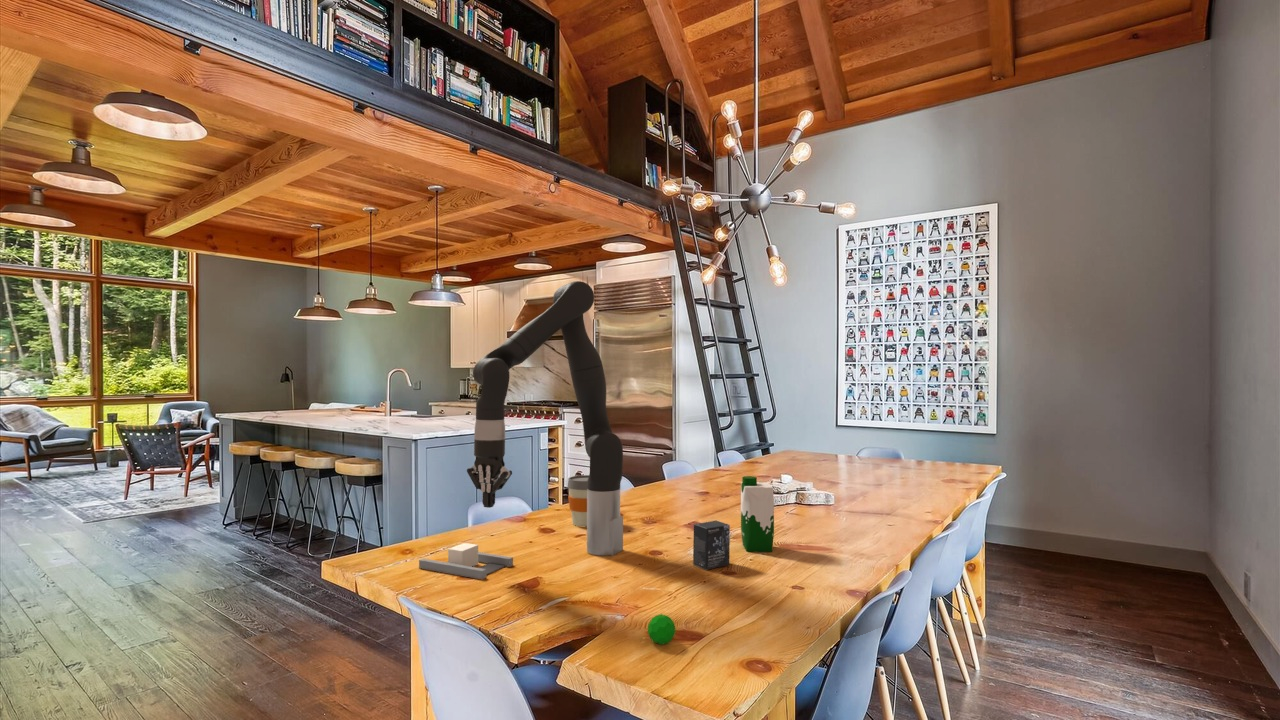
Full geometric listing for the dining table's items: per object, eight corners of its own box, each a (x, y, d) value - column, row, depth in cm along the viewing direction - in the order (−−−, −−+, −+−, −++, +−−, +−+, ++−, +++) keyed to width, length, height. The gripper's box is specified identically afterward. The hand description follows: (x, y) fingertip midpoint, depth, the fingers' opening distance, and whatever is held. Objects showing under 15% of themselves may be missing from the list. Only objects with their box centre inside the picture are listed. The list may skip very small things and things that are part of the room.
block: (478, 564, 154) (478, 545, 155) (462, 571, 149) (462, 551, 149) (464, 562, 156) (464, 542, 157) (448, 568, 151) (448, 548, 151)
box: (706, 570, 149) (706, 528, 150) (692, 565, 154) (692, 523, 154) (730, 565, 154) (730, 524, 154) (715, 559, 158) (715, 519, 159)
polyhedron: (659, 651, 105) (659, 624, 106) (642, 641, 109) (642, 615, 110) (680, 644, 108) (680, 617, 108) (664, 634, 112) (664, 608, 112)
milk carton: (739, 544, 174) (738, 474, 174) (770, 544, 173) (770, 474, 174) (743, 552, 165) (743, 479, 165) (776, 553, 165) (776, 480, 165)
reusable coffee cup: (608, 519, 203) (608, 475, 203) (602, 529, 190) (602, 481, 191) (571, 518, 204) (571, 474, 205) (563, 528, 192) (563, 481, 192)
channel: (512, 565, 153) (513, 557, 154) (481, 579, 143) (482, 571, 143) (452, 555, 162) (452, 547, 162) (419, 568, 151) (419, 560, 151)
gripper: (520, 437, 151) (519, 506, 150) (479, 435, 157) (477, 501, 156) (501, 440, 144) (500, 512, 144) (459, 437, 150) (457, 507, 149)
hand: (488, 506), depth 150 cm, fingers closed
